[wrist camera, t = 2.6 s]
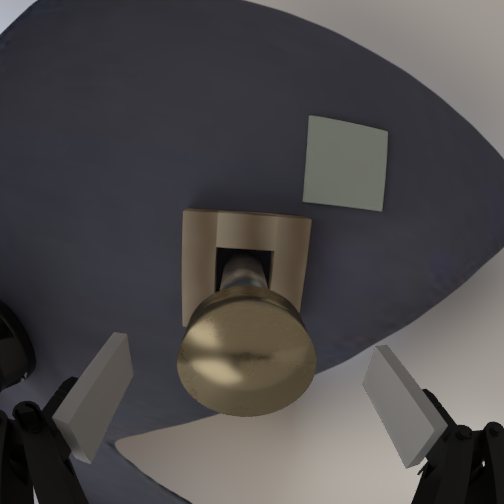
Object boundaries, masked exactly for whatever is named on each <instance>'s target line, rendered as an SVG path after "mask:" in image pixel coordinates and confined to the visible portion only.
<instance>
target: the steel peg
mask: <svg viewBox="0 0 504 504" xmlns="http://www.w3.org/2000/svg"><path fill="white" fill-rule="evenodd" d="M177 369H178V374H179V377H180V380H181V382H182V384H183V386H184V387H185V389H186V390H187V391H188V393H189V394H190V395H191V396H192V397H193V398H194V399H196V400H197V401H198V402H199V403H201V404H202V405H204V406H206V407H208V408H209V409H211V410H214V411H217V412H219V413H223V414H226V415H232V416H240V417H241V416H242V417H252V416H260V415H265V414H269V413H273V412H275V411H278V410H280V409H283V408H284V407H286V406H288V405H290V404H291V403H293V402H294V401H296V400H297V399H298V398H299V397H300V396H301V395H302V394H303V393H304V392H305V391H306V389H307V388H308V387H309V385H310V383H311V381H312V380H313V377H314V374H315V371H316V353H315V349H314V346H313V344H312V341H311V339H310V337H309V334H308V332H307V330H306V327H305V325H304V323H303V320H302V318H301V316H300V314H299V312H298V311H297V309H296V308H295V307H294V305H293V304H292V303H291V302H290V301H288V300H287V299H286V298H285V297H283V296H282V295H280V294H278V293H276V292H274V291H272V290H269V289H268V287H267V283H266V279H265V275H264V272H263V268H262V264H261V261H260V259H259V258H258V257H257V256H256V255H255V254H254V253H252V252H250V251H245V250H241V251H237V252H234V253H232V254H231V255H230V256H229V257H228V258H227V260H226V262H225V265H224V270H223V275H222V281H221V286H220V291H218V292H216V293H214V294H212V295H210V296H209V297H207V298H206V299H205V300H203V301H202V302H201V303H200V304H199V305H198V306H197V308H196V309H195V310H194V312H193V314H192V315H191V317H190V320H189V323H188V325H187V328H186V331H185V334H184V337H183V340H182V343H181V346H180V349H179V352H178V358H177Z"/></svg>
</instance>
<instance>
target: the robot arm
mask: <svg viewBox="0 0 504 504" xmlns="http://www.w3.org/2000/svg"><path fill="white" fill-rule="evenodd" d="M34 368H35V356H34V352H33V349H32V346H31V343H30V341H29V339H28V336H27V334H26V333H25V331H24V329H23V327H22V326H21V324H20V323H19V321H18V320H17V318H16V317H15V316H14V314H13V313H12V312H11V311H10V310H9V309H8V308H7V307H6V306H5V305H4V304H3V303H2V302H0V392H1V391H2V390H3V389H6V388H8V387H10V386H13V385H15V384H17V383H19V382H22V381H24V380H26V379H27V378H28V377H29V376H30V375H31V373H32V372H33V371H34ZM133 376H134V373H133V368H132V362H131V357H130V351H129V345H128V338H127V334H123V333H117V332H114V333H113V334H112V335H111V337H110V338H109V339H108V340H107V342H106V343H105V344H104V346H103V347H102V348H101V350H100V351H99V352H98V354H97V355H96V356H95V358H94V359H93V360H92V362H91V363H90V364H89V366H88V367H87V368H86V370H85V371H84V372H83V374H82V375H81V376H80V378H75V377H70V378H69V379H67V380H65V381H64V382H63V383H62V384H61V386H60V387H59V388H58V390H57V391H56V392H55V394H54V396H52V398H51V399H50V400H49V402H48V403H47V405H46V406H45V407H44V409H43V410H42V411H41V410H40V408H39V406H38V405H37V404H36V403H35V402H32V401H23V402H20V403H19V404H17V405H16V406H15V407H14V409H13V413H12V415H13V416H14V418H15V420H11V419H9V418H8V417H7V415H6V413H5V412H4V411H2V410H0V504H34V494H33V486H34V490H35V493H36V496H37V499H38V502H39V504H89V503H88V501H87V498H86V496H85V494H84V492H83V490H82V488H81V485H80V483H79V481H78V478H77V476H76V473H75V471H74V468H73V466H72V463H71V461H70V459H69V455H70V453H71V452H72V453H73V455H74V456H75V458H76V459H78V460H81V461H84V462H86V463H89V464H92V462H93V459H94V457H95V455H96V453H97V450H98V448H99V446H100V444H101V442H102V439H103V437H104V435H105V433H106V431H107V429H108V427H109V424H110V422H111V420H112V418H113V416H114V414H115V412H116V410H117V408H118V406H119V404H120V402H121V400H122V397H123V395H124V393H125V391H126V389H127V387H128V385H129V383H130V381H131V379H132V378H133ZM363 386H364V388H365V390H366V392H367V394H368V395H369V397H370V399H371V401H372V403H373V405H374V407H375V409H376V411H377V413H378V414H379V416H380V418H381V420H382V422H383V424H384V426H385V428H386V430H387V432H388V434H389V436H390V438H391V439H392V441H393V444H394V446H395V448H396V450H397V451H398V453H399V456H400V458H401V459H402V461H403V464H404V466H405V468H409V467H412V466H415V465H418V464H420V462H421V461H422V460H423V459H424V457H426V458H427V460H428V462H427V463H426V464H425V465H424V466H423V468H422V469H421V470H420V471H419V472H418V474H417V475H419V474H420V473H421V472H422V471H423V473H422V476H421V479H420V482H419V485H418V488H417V490H416V493H415V495H414V498H413V501H412V503H411V504H504V428H503V426H501V424H499V423H497V422H489V423H488V424H487V425H486V426H485V427H484V429H483V430H480V431H472V430H471V429H470V428H469V427H467V426H465V425H457V424H456V423H455V422H454V421H453V419H452V418H451V417H450V415H449V414H448V413H447V411H446V410H445V409H444V407H442V405H441V403H440V402H438V400H437V398H436V397H435V396H434V394H433V393H431V392H429V391H428V390H427V389H421V388H420V387H419V385H418V384H417V383H416V381H415V380H414V379H413V378H412V376H411V375H410V374H409V372H408V371H407V370H406V368H405V367H404V366H403V365H402V364H401V362H400V361H399V360H398V358H397V357H396V356H395V354H394V353H393V352H392V351H391V349H390V348H389V347H388V346H387V345H384V346H376V347H375V350H374V353H373V356H372V359H371V362H370V365H369V367H368V370H367V373H366V376H365V379H364V382H363ZM483 461H484V462H485V466H484V467H483V464H482V462H483Z"/></svg>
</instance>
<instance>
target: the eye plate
mask: <svg viewBox="0 0 504 504" xmlns="http://www.w3.org/2000/svg"><path fill="white" fill-rule="evenodd" d="M311 221H312V220H311V219H309V218H308V217H306V216H295V215H283V214H271V213H258V212H244V211H229V210H212V209H193V208H188V209H186V210H184V211H183V232H182V318H183V327H187V325H188V323H189V320H190V317H191V315H192V314H193V312H194V310H195V309H196V308H197V306H198V305H199V304H200V303H201V302H202V301H203V300H205V299H206V298H207V297H209V296H210V295H212V294H214V293H216V278H217V255H218V247H221V248H237V249H252V250H268V251H271V257H270V268H269V278H268V289H269V290H272V291H274V292H276V293H278V294H280V295H282V296H283V297H285V298H286V299H287V300H288V301H290V302H291V303H292V304H293V305H294V307H295V308H296V309H297V311H298V312H300V305H301V299H302V292H303V285H304V278H305V271H306V263H307V255H308V247H309V239H310V230H311Z"/></svg>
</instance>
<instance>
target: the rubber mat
mask: <svg viewBox="0 0 504 504" xmlns="http://www.w3.org/2000/svg"><path fill="white" fill-rule="evenodd" d="M387 141H388V132H387V131H383V130H380V129H376V128H372V127H367V126H363V125H359V124H354V123H349V122H345V121H340V120H334V119H329V118H323V117H318V116H311V115H310V116H309V123H308V139H307V153H306V166H305V178H304V190H303V201H302V202H309V203H319V204H328V205H336V206H345V207H353V208H360V209H368V210H375V211H382V206H383V197H384V187H385V176H386V161H387Z"/></svg>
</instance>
